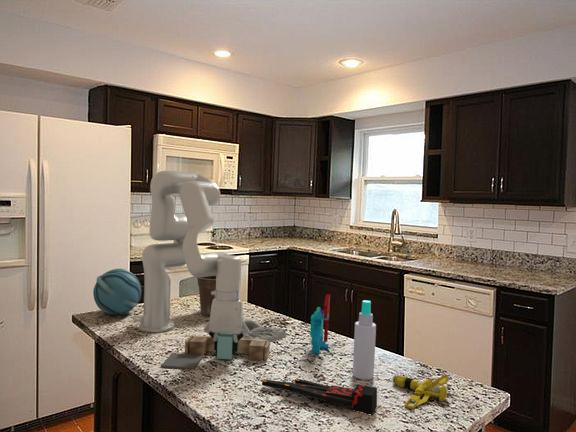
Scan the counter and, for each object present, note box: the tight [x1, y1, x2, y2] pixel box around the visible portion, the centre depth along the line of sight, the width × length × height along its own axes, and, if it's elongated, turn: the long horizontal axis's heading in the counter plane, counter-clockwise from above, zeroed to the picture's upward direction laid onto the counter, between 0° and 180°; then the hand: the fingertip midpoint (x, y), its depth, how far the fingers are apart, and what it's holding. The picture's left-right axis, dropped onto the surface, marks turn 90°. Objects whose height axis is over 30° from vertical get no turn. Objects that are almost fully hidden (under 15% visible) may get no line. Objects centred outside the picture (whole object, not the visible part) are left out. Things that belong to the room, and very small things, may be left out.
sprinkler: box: [392, 374, 450, 410], centre depth 119 cm, size 19×4×15 cm
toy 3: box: [261, 378, 378, 416], centre depth 115 cm, size 8×5×30 cm
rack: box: [184, 334, 271, 362], centre depth 142 cm, size 26×7×4 cm, turn 86°
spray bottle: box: [352, 299, 377, 381], centre depth 129 cm, size 6×6×22 cm
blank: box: [216, 333, 235, 360], centre depth 139 cm, size 4×4×7 cm
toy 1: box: [92, 268, 142, 316], centre depth 182 cm, size 18×20×20 cm
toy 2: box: [309, 293, 331, 355], centre depth 148 cm, size 18×6×15 cm
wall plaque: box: [239, 319, 287, 343], centre depth 164 cm, size 24×19×4 cm
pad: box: [160, 352, 204, 371], centre depth 135 cm, size 10×10×1 cm
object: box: [196, 276, 216, 317], centre depth 190 cm, size 16×16×16 cm
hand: (225, 352), depth 139 cm, fingers closed on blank, 4 cm apart
